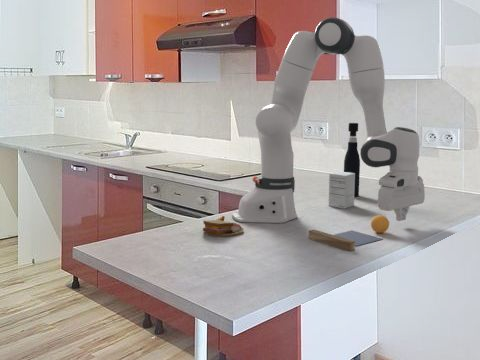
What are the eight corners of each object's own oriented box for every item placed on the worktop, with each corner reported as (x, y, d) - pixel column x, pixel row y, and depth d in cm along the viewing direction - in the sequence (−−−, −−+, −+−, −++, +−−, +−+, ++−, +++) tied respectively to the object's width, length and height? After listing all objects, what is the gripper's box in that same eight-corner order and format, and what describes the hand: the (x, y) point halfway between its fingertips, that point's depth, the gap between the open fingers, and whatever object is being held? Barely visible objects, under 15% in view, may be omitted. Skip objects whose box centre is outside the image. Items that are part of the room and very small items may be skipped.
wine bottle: (356, 194, 233) (359, 122, 228) (360, 197, 227) (363, 123, 222) (341, 194, 233) (343, 122, 228) (344, 197, 227) (347, 123, 222)
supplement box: (337, 203, 216) (338, 170, 214) (354, 205, 211) (355, 172, 209) (327, 206, 210) (328, 173, 208) (345, 208, 206) (346, 175, 204)
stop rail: (349, 251, 154) (350, 242, 153) (308, 238, 166) (308, 230, 166) (354, 249, 155) (354, 241, 154) (313, 237, 167) (313, 229, 167)
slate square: (356, 246, 158) (356, 245, 158) (325, 237, 168) (325, 236, 168) (382, 239, 166) (382, 238, 166) (351, 230, 175) (351, 230, 175)
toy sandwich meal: (251, 233, 173) (251, 218, 172) (217, 241, 164) (217, 225, 163) (226, 225, 182) (226, 211, 181) (193, 232, 174) (192, 218, 173)
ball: (374, 217, 169) (385, 209, 172) (364, 223, 174) (374, 215, 177) (385, 232, 168) (395, 224, 172) (374, 238, 173) (384, 230, 176)
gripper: (414, 173, 187) (411, 214, 189) (375, 180, 174) (373, 222, 177) (430, 176, 182) (428, 217, 184) (391, 183, 169) (389, 227, 172)
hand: (401, 220), depth 180 cm, fingers closed
